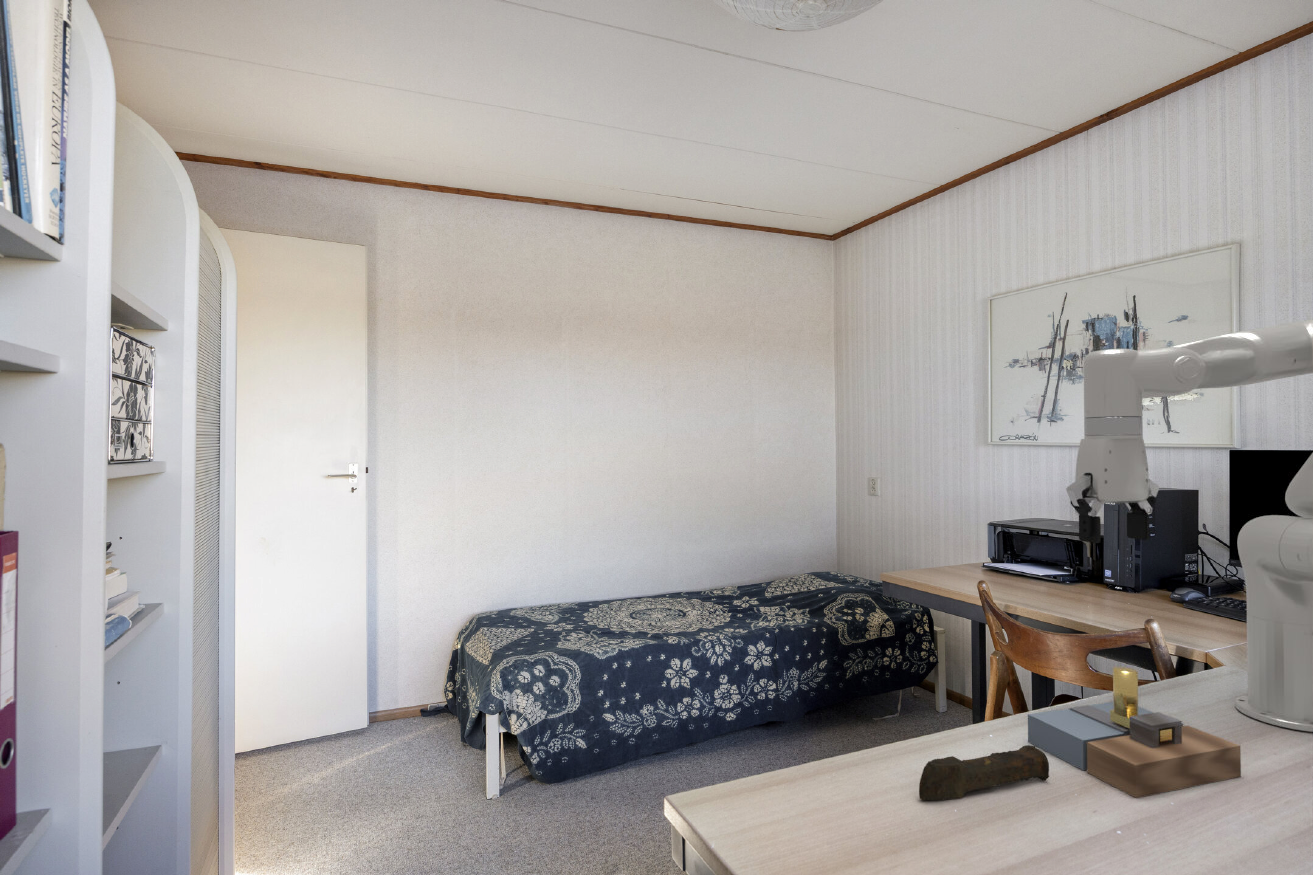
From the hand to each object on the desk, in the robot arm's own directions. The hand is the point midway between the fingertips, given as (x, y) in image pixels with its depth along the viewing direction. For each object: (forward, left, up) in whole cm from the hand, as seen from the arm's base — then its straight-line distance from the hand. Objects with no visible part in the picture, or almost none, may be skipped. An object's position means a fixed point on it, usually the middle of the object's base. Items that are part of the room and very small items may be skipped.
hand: (1114, 540), depth 104 cm
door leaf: (+9, +6, -28) cm, 30 cm away
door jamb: (+9, +14, -28) cm, 33 cm away
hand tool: (+34, +10, -29) cm, 46 cm away
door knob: (+9, +11, -24) cm, 28 cm away
